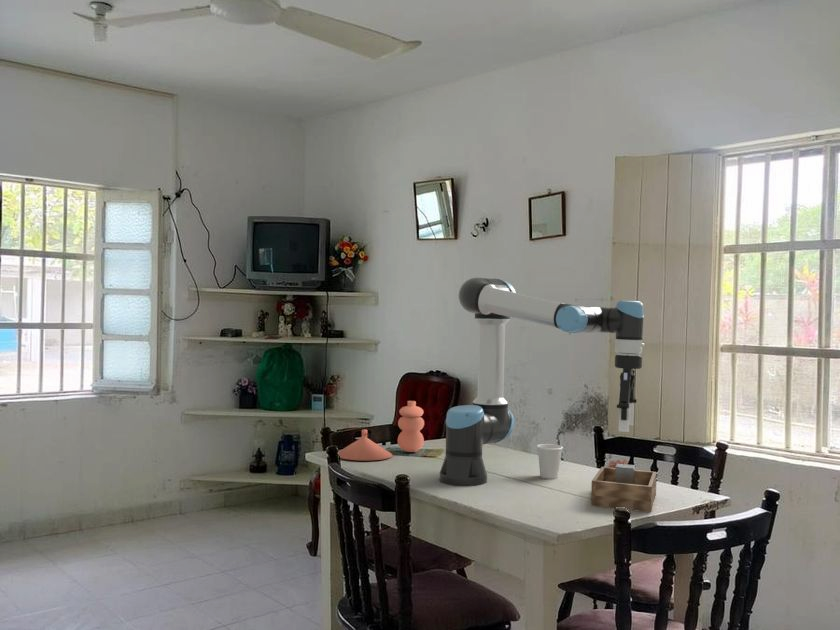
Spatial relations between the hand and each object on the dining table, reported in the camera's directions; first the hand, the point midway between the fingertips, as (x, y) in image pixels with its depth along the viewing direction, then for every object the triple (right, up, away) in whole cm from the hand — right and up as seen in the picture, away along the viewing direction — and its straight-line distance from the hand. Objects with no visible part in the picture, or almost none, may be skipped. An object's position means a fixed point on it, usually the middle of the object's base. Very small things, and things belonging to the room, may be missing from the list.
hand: (626, 428), depth 214 cm
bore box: (0, -21, 0) cm, 21 cm away
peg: (-1, -21, 0) cm, 21 cm away
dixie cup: (-17, -20, +29) cm, 39 cm away
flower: (+5, -21, +20) cm, 30 cm away
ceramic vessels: (-74, -19, +62) cm, 98 cm away
